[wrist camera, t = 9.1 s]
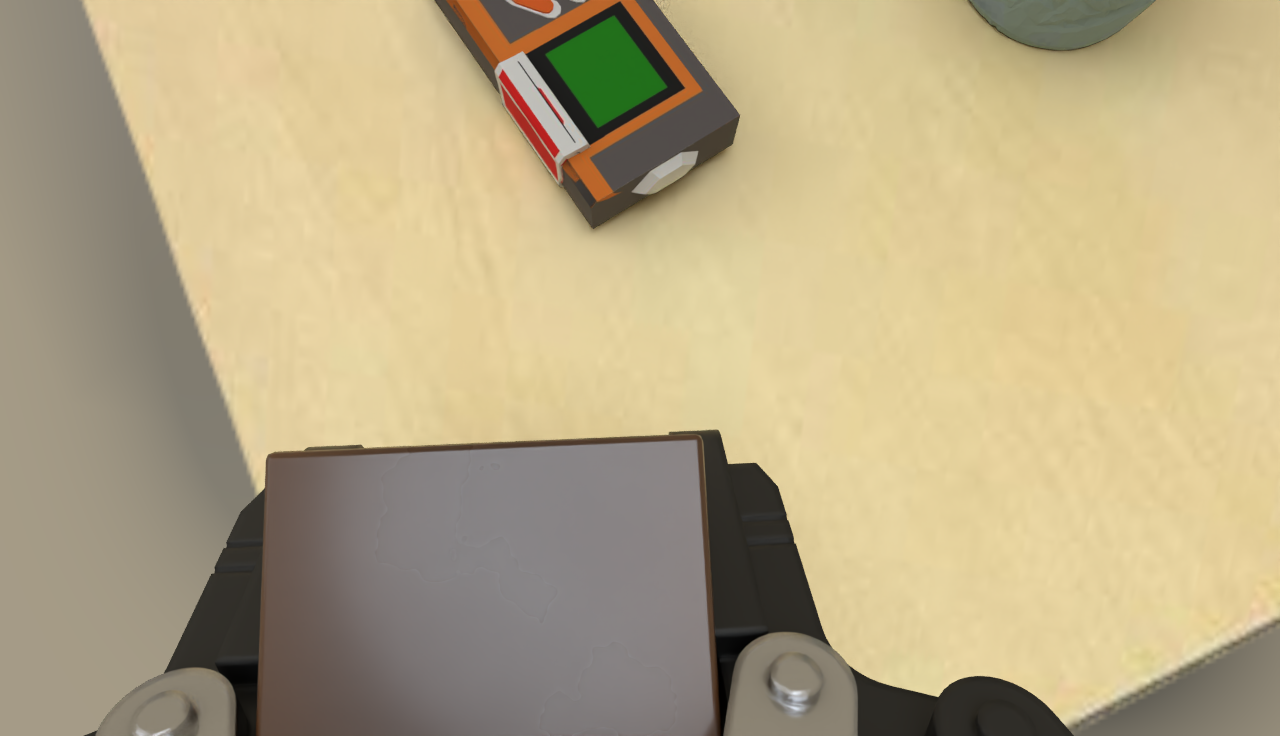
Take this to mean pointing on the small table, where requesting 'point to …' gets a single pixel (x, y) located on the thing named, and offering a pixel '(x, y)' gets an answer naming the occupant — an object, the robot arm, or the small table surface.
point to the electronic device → (599, 93)
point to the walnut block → (489, 591)
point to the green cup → (1060, 20)
